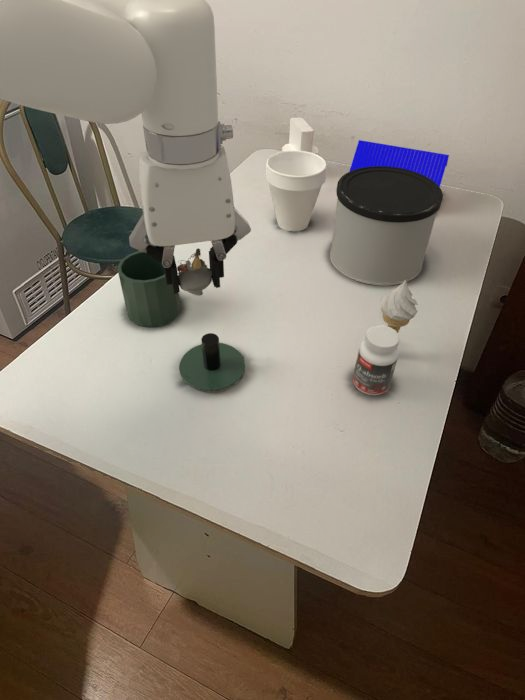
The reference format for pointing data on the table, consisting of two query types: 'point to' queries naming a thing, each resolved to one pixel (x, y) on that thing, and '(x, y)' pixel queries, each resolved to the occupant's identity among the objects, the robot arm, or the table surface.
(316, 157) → the cup
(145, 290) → the trash can
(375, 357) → the pill bottle
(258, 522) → the table surface
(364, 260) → the container
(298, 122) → the cylinder with rectangular tab
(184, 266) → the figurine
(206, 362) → the trash can lid
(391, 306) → the ice cream cone
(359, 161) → the blue corrugated sheet
